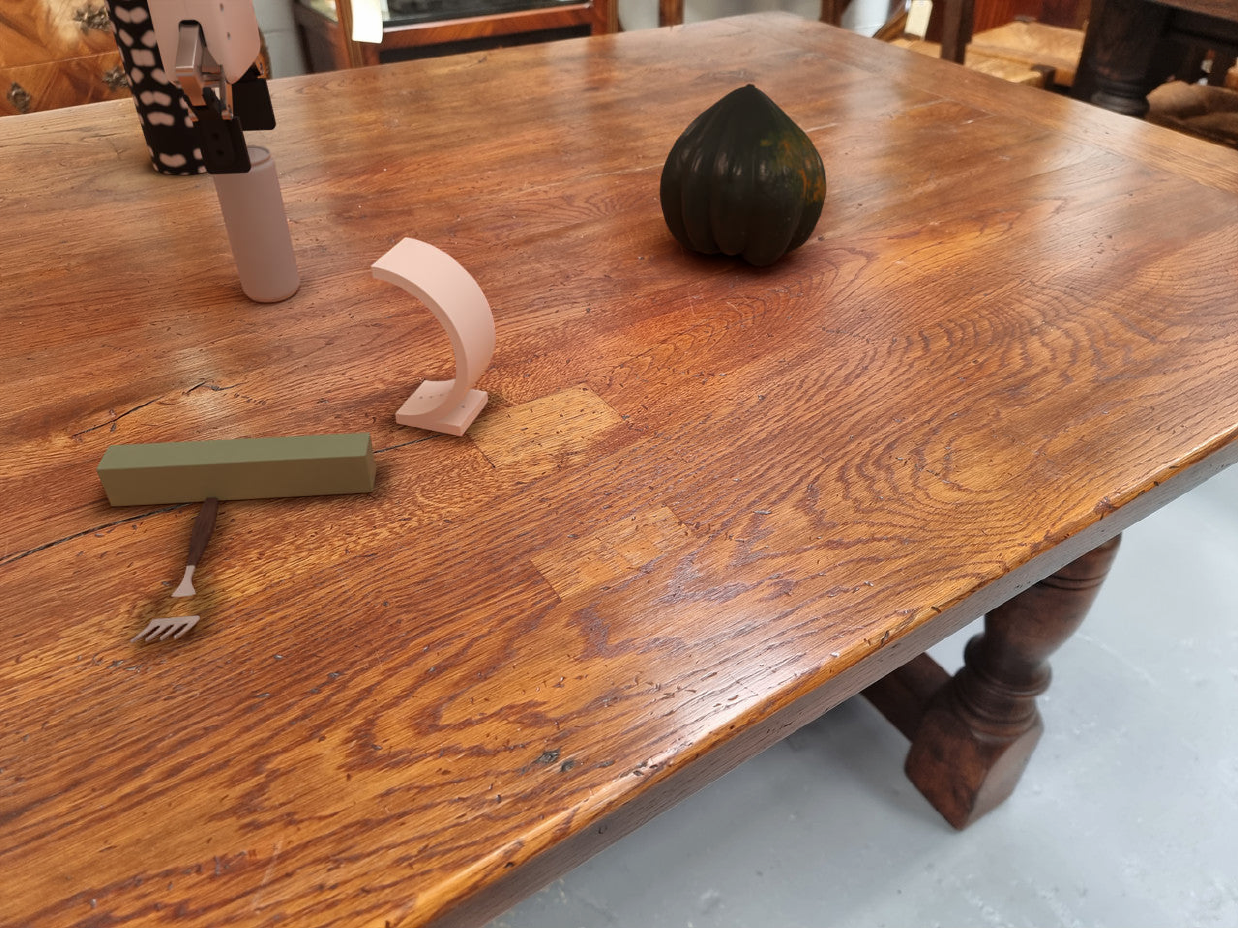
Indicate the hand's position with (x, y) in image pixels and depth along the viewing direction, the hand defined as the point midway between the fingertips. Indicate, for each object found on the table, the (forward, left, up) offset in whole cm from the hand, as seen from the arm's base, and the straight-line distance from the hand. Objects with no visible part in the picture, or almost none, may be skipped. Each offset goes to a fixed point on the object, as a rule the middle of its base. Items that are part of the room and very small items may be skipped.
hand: (244, 150), depth 73 cm
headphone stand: (+16, -20, -13) cm, 28 cm away
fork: (+1, -33, -13) cm, 36 cm away
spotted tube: (-15, +33, -13) cm, 39 cm away
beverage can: (0, 0, -13) cm, 13 cm away
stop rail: (+3, -27, -12) cm, 30 cm away
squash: (+42, +6, -13) cm, 44 cm away
